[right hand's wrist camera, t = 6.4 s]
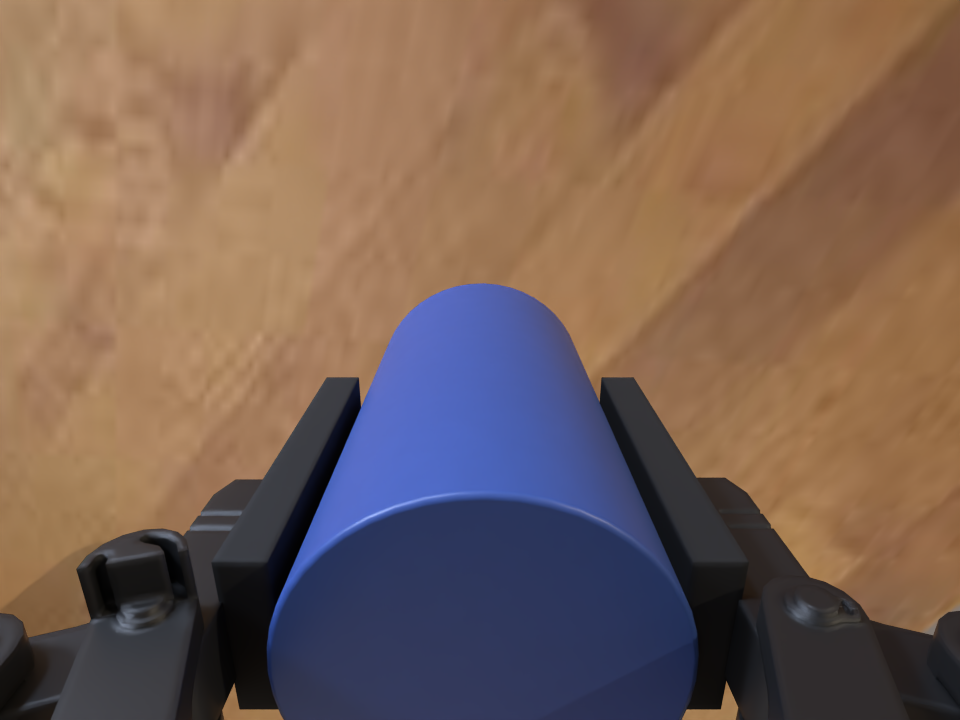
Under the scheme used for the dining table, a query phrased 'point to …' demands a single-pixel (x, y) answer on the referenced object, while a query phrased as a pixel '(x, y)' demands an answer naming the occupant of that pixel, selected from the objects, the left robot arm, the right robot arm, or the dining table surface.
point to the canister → (482, 542)
